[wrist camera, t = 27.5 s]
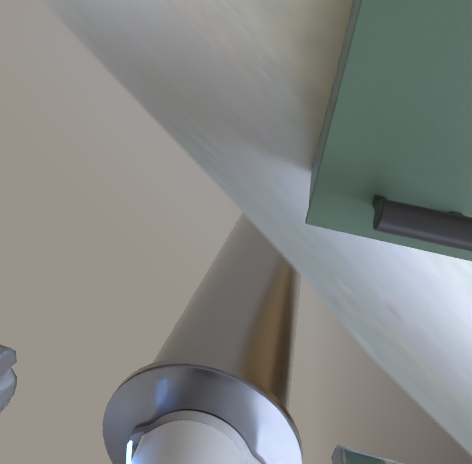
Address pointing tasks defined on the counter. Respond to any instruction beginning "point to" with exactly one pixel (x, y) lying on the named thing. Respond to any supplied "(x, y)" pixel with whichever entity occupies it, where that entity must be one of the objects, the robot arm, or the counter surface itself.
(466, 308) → the counter surface
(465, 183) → the lid
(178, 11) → the counter surface
